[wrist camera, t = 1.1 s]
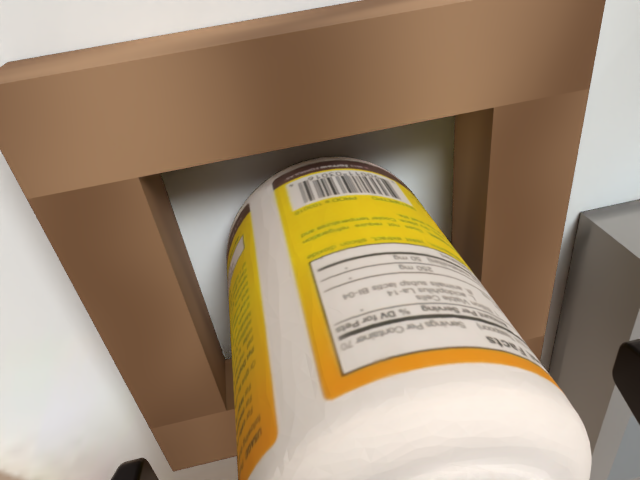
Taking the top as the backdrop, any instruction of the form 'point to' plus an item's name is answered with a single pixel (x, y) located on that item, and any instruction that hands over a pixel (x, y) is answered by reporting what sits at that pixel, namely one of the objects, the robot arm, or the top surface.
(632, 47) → the top surface
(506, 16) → the wooden rectangular frame
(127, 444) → the top surface
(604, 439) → the parts tray
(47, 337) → the top surface
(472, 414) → the supplement bottle
